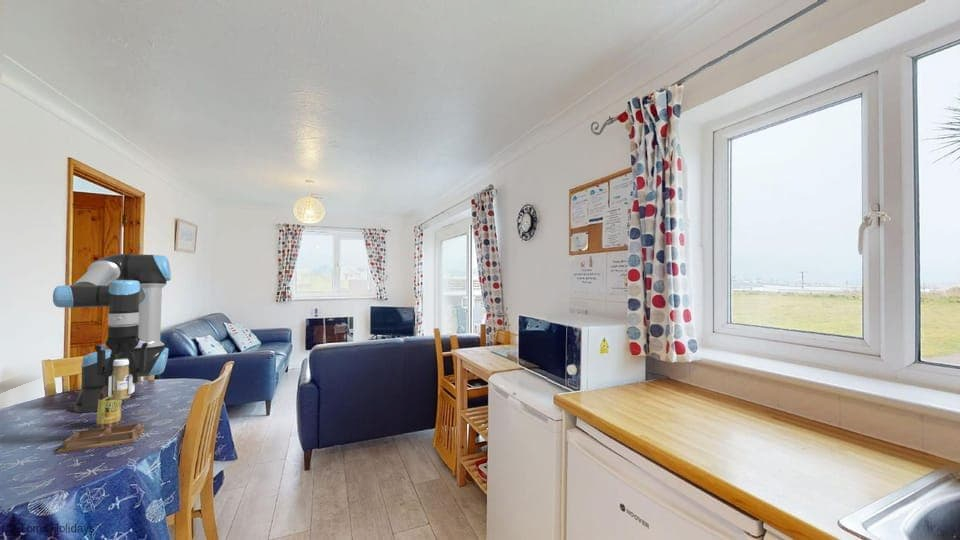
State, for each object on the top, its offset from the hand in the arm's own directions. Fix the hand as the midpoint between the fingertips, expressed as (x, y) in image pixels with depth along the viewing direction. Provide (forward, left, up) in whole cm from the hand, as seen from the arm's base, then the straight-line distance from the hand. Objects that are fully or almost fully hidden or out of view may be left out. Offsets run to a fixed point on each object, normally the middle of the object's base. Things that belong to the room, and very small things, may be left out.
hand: (121, 393), depth 122 cm
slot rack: (0, -4, -15) cm, 16 cm away
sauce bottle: (-15, -8, -15) cm, 23 cm away
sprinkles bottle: (0, 0, -2) cm, 2 cm away
